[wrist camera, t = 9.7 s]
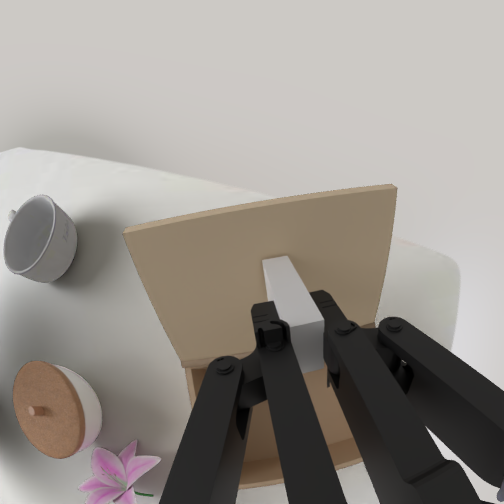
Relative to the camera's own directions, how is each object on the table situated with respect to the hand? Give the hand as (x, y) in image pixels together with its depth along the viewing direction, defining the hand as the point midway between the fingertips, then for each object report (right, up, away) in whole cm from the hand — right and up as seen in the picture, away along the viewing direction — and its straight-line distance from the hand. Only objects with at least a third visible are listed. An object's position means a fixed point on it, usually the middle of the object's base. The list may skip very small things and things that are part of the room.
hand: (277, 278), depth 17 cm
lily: (-15, -23, +6) cm, 29 cm away
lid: (0, -1, +1) cm, 2 cm away
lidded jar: (-22, -17, +9) cm, 30 cm away
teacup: (-31, +2, +17) cm, 35 cm away
